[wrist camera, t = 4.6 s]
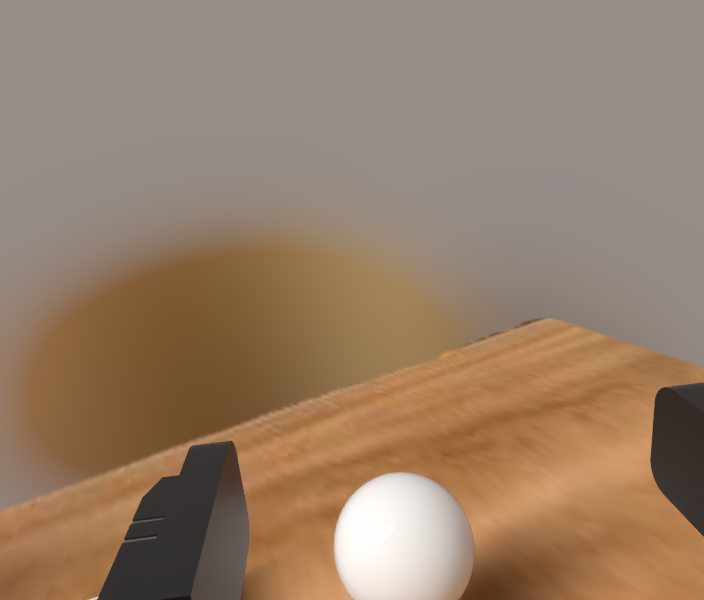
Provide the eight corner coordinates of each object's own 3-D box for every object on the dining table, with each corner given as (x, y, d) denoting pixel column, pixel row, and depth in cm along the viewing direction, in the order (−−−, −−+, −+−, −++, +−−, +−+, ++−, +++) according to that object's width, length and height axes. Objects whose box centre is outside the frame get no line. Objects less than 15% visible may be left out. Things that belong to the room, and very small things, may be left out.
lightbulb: (373, 602, 32) (352, 438, 28) (486, 626, 30) (481, 452, 26) (333, 713, 26) (302, 528, 23) (469, 753, 24) (459, 555, 21)
